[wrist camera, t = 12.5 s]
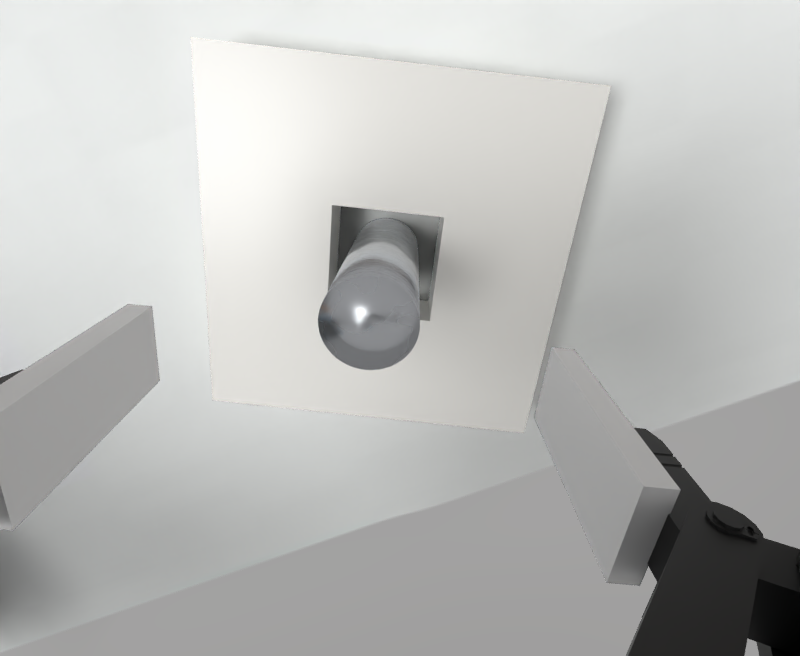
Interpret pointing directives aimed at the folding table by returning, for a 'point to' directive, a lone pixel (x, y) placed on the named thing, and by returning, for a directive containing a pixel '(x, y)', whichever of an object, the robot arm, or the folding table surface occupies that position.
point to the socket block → (388, 191)
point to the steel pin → (374, 298)
